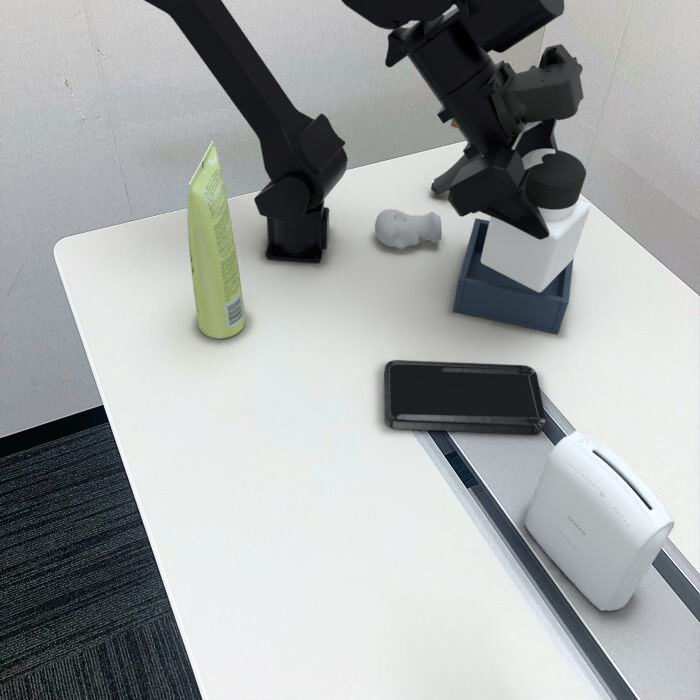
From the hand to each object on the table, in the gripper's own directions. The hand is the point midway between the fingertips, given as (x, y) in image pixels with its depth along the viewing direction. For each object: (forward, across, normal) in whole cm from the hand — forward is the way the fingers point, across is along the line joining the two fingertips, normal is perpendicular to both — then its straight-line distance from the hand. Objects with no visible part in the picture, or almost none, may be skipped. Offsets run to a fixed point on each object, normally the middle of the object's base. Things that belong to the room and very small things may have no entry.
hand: (554, 213), depth 72 cm
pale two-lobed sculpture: (-2, +6, +21) cm, 22 cm away
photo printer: (+17, -27, +2) cm, 32 cm away
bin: (+8, +3, +11) cm, 14 cm away
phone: (+8, -15, +11) cm, 20 cm away
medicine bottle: (+4, 0, +6) cm, 7 cm away
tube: (-10, -15, +30) cm, 35 cm away
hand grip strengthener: (+2, +18, +17) cm, 25 cm away
